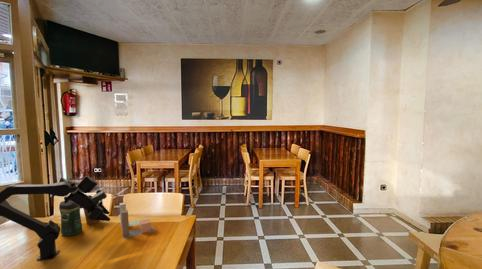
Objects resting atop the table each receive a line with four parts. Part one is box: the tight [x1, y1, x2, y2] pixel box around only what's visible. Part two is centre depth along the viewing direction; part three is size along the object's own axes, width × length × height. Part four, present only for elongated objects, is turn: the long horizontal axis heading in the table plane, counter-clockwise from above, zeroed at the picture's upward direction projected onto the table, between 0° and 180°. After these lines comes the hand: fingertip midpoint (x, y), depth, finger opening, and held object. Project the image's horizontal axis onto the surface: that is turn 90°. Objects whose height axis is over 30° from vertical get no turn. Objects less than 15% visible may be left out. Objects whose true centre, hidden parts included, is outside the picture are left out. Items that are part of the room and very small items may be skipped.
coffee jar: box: [58, 200, 83, 237], centre depth 134 cm, size 10×8×19 cm
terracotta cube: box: [139, 218, 152, 234], centre depth 135 cm, size 5×5×5 cm
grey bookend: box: [119, 202, 152, 229], centre depth 144 cm, size 16×7×14 cm, turn 120°
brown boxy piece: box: [121, 209, 156, 239], centre depth 133 cm, size 16×7×14 cm, turn 120°
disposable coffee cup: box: [83, 209, 100, 225], centre depth 148 cm, size 10×10×12 cm
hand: (109, 216), depth 125 cm, fingers open, 9 cm apart
